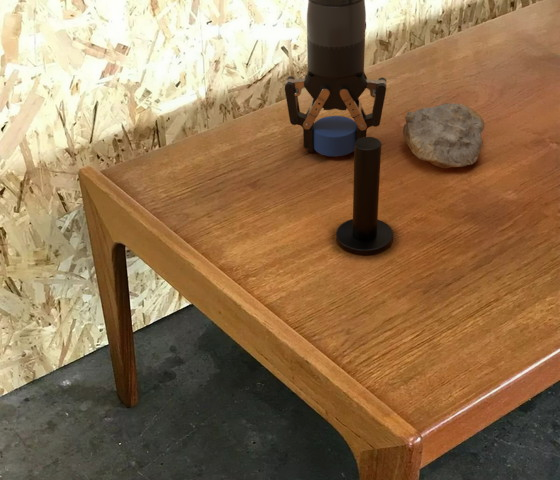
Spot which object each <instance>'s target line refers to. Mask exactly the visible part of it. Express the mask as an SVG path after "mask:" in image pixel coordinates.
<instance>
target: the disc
mask: <svg viewBox="0 0 560 480" xmlns="http://www.w3.org/2000/svg"><path fill="white" fill-rule="evenodd" d="M356 130H357V124H356V122H355V120H354V119H353V118H350V117H347V116H344V115H343V116H342V115H328V116H325V117H321V118H319V119H316V120H315V121H314V125H313V147H314V151H315V152H316V153H318V154H320V155H323V156H327V157H344V156H346V155H347V156H348V155H349V154H351V153H354V144H355V141H356Z"/></svg>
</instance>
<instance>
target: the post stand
mask: <svg viewBox="0 0 560 480" xmlns="http://www.w3.org/2000/svg"><path fill="white" fill-rule="evenodd" d="M381 155H382V141H381V140H380V139H379V138H376V137H373V136H366V137H362V138H359V139H357V140H356V141H355V144H354V151H353V190H352V191H353V193H352V219H348V220H346V221H345V222H342V223H341V224H340V225H339V226H338V227H337V230H336V232H335V233H336V234H335V239H336V243H337V245H338V246H339V247H340V249H342V250H343V251H344V252H346V253H347V252H348V253H349V254H353V255H357V256H372V255H373V256H374V255H376V254H380V253H383V252H384V251H386V250H388V249H389V248H390V247H391V246H392V243H393V241H394V232H393V229H392V227H391V226H390V225H389V224H388V223H387V222H385V221H383V220H381V219H379V218H378V217H379V216H378V215H379V199H380V198H379V197H380V178H381V177H380V176H381V159H382V158H381Z"/></svg>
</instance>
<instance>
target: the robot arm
mask: <svg viewBox="0 0 560 480" xmlns="http://www.w3.org/2000/svg"><path fill="white" fill-rule="evenodd" d="M366 30H367V12H366V1H365V0H308V1H307V11H306V51H307V52H306V53H307V55H306V56H307V58H306V59H307V73H306V75H305V76H304V78H303V77H302V78H295V77H294V76H292V75H290V76H288V77H287V78H286V79H285V80H286V81H285V85H284V93H285V99H286V106H287V112H288V117H289V122H290V123H289V124H291V125H293V126H296V125H298V126H300V127H301V128H302V132H303V133H302V135H303V136H302V137H303V138H302V139H303V147H304V149H305V150H306V149H307V151H308V153H312V154H313V153H314V151H315V149H314V147H313V125H314V123H315V122H316V120H317V118H318V117H319V115H320V112H321V111H322V109H323V111H331V110H338V111H348V113H349V115H350V116H351V119H352V120H353V121H355V122H356V124H357V130H356V140H357V139H359V138H362V137H367V132H368V131H367V130H368V129H369V128H370V127H375V128H377V127H379V126H380V125H381V119H382V114H383V109H384V105H385V98H386V92H387V79H386V78H385V77H379V78H378V79H372V78H368V77H367V75H366V72H365V51H366ZM303 89H305V90H306V91H307V93H308V95H310V97H311V98H312V100H311V102H310V104H309V107H308V109H307V110H306V113H304V112H301V109H300V102H299V98H298V97H299V96H301V94H302V90H303ZM366 89H368V91H369V95H370V97H371V98H374V99H373V106H372V112H370V113H368V114H367V113H366V111H365V109H364V107H363V103H362V102H361V100H360V97H361V95H362V94H363V93H364V92H365V91H366Z"/></svg>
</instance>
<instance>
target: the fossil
mask: <svg viewBox="0 0 560 480" xmlns="http://www.w3.org/2000/svg"><path fill="white" fill-rule="evenodd" d="M404 119H405V122H406V123H405V124H404V125H403V127H402V136H403V139H404V141H405V143H406V144H407V146H408V148H409V149H410V150H411V152H412V154H413V155H414V156H415V157H416V158H417V159H418V160H421V161H424V162H429V163H431V164H432V165H433V166H435V167H438V168H441V169H450V168H462V167H466V166H470V165H473V164H474V163H476V162H477V160H478V158H479V156H480V155H481V154H480V153H481V150H482V148H483V138H482V133H483V132H484V130H485V122H484V120H483V118H482V116H481V114H480V113H479V112H478V111H476V110H475V109H472V108H471V107H469V105H467V104H466V105H465V104H462V103H452V102H445V103H442V104H439V105H435V106H430V107H422V108H419V109H416V110H415V111H413V112H412V111H407V112H406V116H405V117H404Z"/></svg>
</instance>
